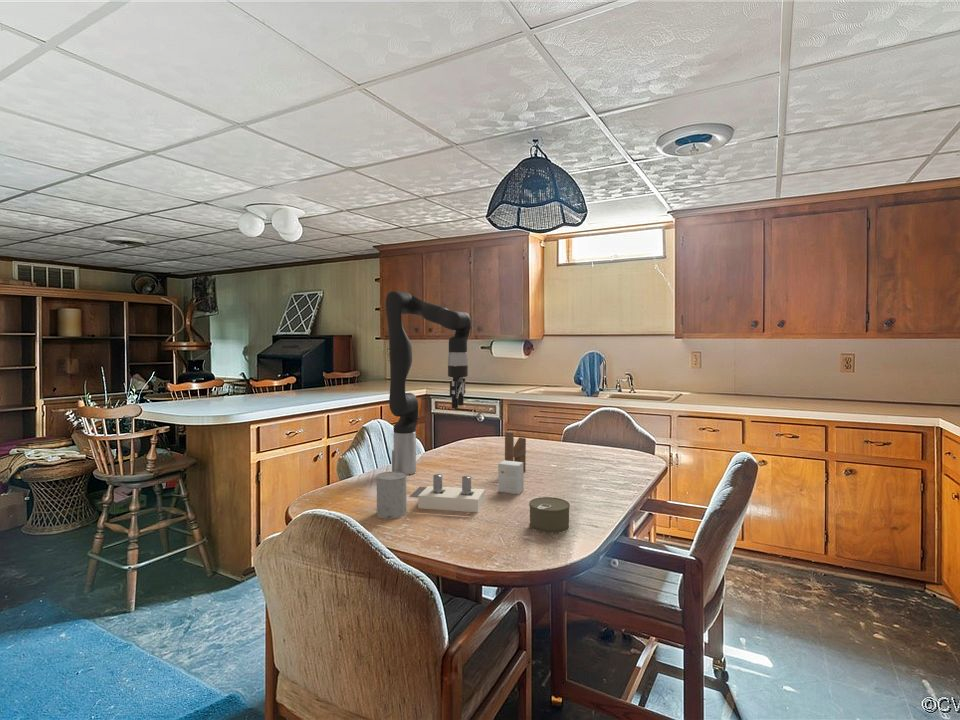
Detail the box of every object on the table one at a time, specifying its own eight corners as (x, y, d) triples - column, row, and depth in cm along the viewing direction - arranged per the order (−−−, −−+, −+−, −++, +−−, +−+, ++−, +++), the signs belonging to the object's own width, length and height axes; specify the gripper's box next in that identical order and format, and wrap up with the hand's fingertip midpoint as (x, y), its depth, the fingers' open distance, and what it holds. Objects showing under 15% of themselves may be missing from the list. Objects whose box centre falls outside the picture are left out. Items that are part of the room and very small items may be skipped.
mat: (409, 497, 174) (409, 496, 174) (419, 487, 186) (419, 486, 186) (447, 500, 171) (447, 499, 171) (456, 490, 183) (456, 489, 183)
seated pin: (461, 507, 163) (461, 477, 163) (463, 504, 166) (463, 475, 166) (470, 508, 163) (470, 478, 162) (472, 505, 166) (472, 476, 165)
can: (577, 525, 148) (577, 502, 148) (556, 537, 139) (556, 513, 139) (543, 516, 156) (543, 494, 156) (521, 527, 147) (521, 504, 147)
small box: (523, 490, 182) (524, 462, 182) (518, 494, 177) (518, 465, 177) (503, 487, 186) (503, 459, 185) (498, 491, 181) (498, 463, 180)
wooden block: (525, 471, 208) (526, 429, 208) (509, 476, 200) (509, 432, 200) (518, 470, 211) (519, 428, 210) (502, 475, 203) (502, 431, 202)
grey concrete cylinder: (392, 521, 152) (392, 481, 151) (370, 515, 157) (369, 476, 156) (413, 511, 160) (412, 474, 159) (390, 506, 165) (390, 470, 164)
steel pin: (432, 505, 165) (432, 476, 165) (434, 503, 168) (434, 473, 168) (440, 506, 165) (440, 476, 164) (443, 503, 168) (443, 474, 167)
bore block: (418, 509, 162) (418, 495, 162) (428, 498, 173) (428, 485, 173) (477, 513, 158) (477, 499, 158) (484, 502, 169) (484, 489, 169)
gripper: (453, 363, 195) (453, 404, 196) (443, 365, 182) (443, 409, 182) (471, 363, 194) (471, 404, 195) (462, 365, 180) (462, 409, 181)
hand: (457, 406), depth 188 cm, fingers open, 8 cm apart
